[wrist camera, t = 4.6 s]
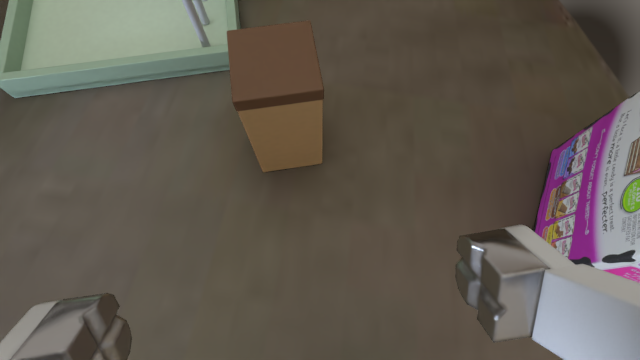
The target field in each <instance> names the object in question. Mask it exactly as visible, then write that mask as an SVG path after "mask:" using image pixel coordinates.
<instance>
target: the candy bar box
mask: <svg viewBox="0 0 640 360" xmlns="http://www.w3.org/2000/svg"><path fill="white" fill-rule="evenodd" d="M534 232H535V233H536V234H537V235H539V236H540V237H541V238H542V239H544V240H545V241H546V242H548V243H549V244H550V245H551V246H553V247H554V248H555V249H556V250H558V251H559V252H560V253H561V254H563V255H564V256H565V257H567V258H568V259H569V260H570V261H572V262H573V263H574V264H575V265H578V264H585V265H588V266H591V267H594V268H597V269H600V270H603V271H606V272H609V273H612V274H615V275H618V276H621V277H624V278H627V279H630V280H633V281H636V282H639V283H640V91H639V92H637V93H636V94H634V95H633V96H631V97H630V98H628V99H627V100H625V101H624V102H622V103H621V104H620V105H618V106H617V107H615V108H614V109H612V110H611V111H610V112H608V113H607V114H605V115H603V116H602V117H601V118H599V119H598V120H596V121H595V122H593V123H592V124H590V125H589V126H588V127H586V128H584V129H583V130H582V131H580V132H578V133H577V134H576V135H574V136H573V137H571V138H570V139H568V140H567V141H566V142H564V143H563V144H561V145H560V146H558V147H557V148H555V149H554V150H553V151H552V153H551V158H550V162H549V166H548V171H547V175H546V180H545V185H544V189H543V193H542V198H541V202H540V206H539V211H538V215H537V219H536V223H535V227H534Z"/></svg>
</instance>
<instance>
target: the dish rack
mask: <svg viewBox="0 0 640 360" xmlns="http://www.w3.org/2000/svg"><path fill="white" fill-rule="evenodd" d="M237 29H241V27H240V17H239V7H238V0H9V4H8V9H7V13H6V18H5V23H4V27H3V32H2V37H1V41H0V88H2V89H3V90H4V91H6V92H7V93H8V94H10V95H11V96H13V97H14V98H19V97H26V96H34V95H42V94H49V93H57V92H64V91H72V90H80V89H87V88H95V87H102V86H110V85H117V84H125V83H133V82H140V81H148V80H155V79H163V78H171V77H178V76H186V75H193V74H201V73H209V72H216V71H224V70H230V68H229V56H228V44H227V31H229V30H237Z"/></svg>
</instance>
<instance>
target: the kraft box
mask: <svg viewBox="0 0 640 360" xmlns="http://www.w3.org/2000/svg"><path fill="white" fill-rule="evenodd" d="M227 44H228V56H229V68H230V80H231V93H232V102H233V105H234V107H235V109H236V111H238V114H239V116H240V118H241V121H242V123H243V126H244V128H245V130H246V133H247V135H248V138H249V140H250V142H251V145H252V147H253V150H254V152H255V154H256V157H257V159H258V162H259V164H260V166H261V169H262V171H263V172H269V171H275V170H282V169H289V168H295V167H302V166H309V165H316V164H322V136H323V99H324V87H323V82H322V77H321V72H320V67H319V61H318V56H317V51H316V46H315V41H314V36H313V31H312V26H311V22H310V21H309V20H308V21H301V22H293V23H285V24H277V25H269V26H261V27H253V28H245V29H237V30H229V31H227Z"/></svg>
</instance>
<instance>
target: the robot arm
mask: <svg viewBox="0 0 640 360" xmlns="http://www.w3.org/2000/svg"><path fill="white" fill-rule="evenodd" d="M457 252H458V253H459V254H460V255H461V257H462V258H461V259H460V260H459V262H458V263H457V264H456V274H455V277H456V281H457V286H458V289H459V291H460V293H461V296H462V297H463V299H464V300H465V302H466V303H467V305H469V306H471V307H473V308H475V309H477V310H478V314H477V320H478V321H479V322H480V324H481V325H482V327H483V328H484V330H485V331H486V332H487V334H488V335H489V337H490V338H491V340H492V341H493V343H495V342H501V341H508V340H515V339H521V338H528V337H532V339H533V340H534V341H536V342H537V343H539V344H540V345H542V346H544V347H545V348H547V349H548V350H550V351H551V352H553V353H554V354H556V355H558V356H559V357H561V358H562V359H564V360H640V283H639V282H636V281H633V280H630V279H627V278H624V277H621V276H618V275H615V274H612V273H609V272H606V271H603V270H600V269H597V268H594V267H591V266H588V265H585V264H578V265H575V264H574V263H573V262H572V261H570V260H569V259H568V258H567V257H565V256H564V255H563V254H561V253H560V252H559V251H558V250H556V249H555V248H554V247H553V246H551V245H550V244H549V243H548V242H546V241H545V240H544V239H542V238H541V237H540V236H539V235H537V234H536V233H535V232H534V231H532V230H531V229H530V228H529V227H527V226H524V225H521V224H520V225H515V226H510V227H504V228H500V229H498V230H492V231H486V232H480V233H474V234H468V235H462V236H459V239H458V241H457ZM119 307H120V306H119V304H118V302H117V300H116V298H115V296H114V295H112V294H109V293H104V294H97V295H90V296H83V297H76V298H69V299H63V300H56V301H50V302H43V303H39V304H37V305H35V306H33V307H31V308H30V310H29V311H28V312H27V313H26V314H25V315H24V316H23V317H22V319H21V320H20V321H19V322H18V323H17V324H16V325H15V326H14V327H13V329H12V330H11V331H10V332H9V333H8V334H7V335H6V336H5V338H4V339H3V340H2V341H1V342H0V360H127V358H128V356H129V354H130V349H131V341H132V337H131V331H130V327H129V325H128V323H127V321H126V320H125V319H123V318H121V317H120V316H118V315H116V314H117V312H118V309H119Z"/></svg>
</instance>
